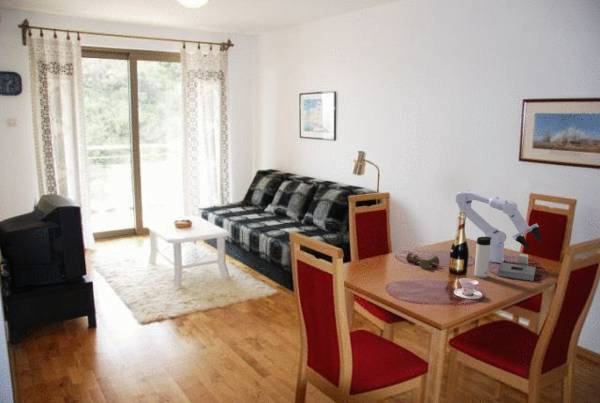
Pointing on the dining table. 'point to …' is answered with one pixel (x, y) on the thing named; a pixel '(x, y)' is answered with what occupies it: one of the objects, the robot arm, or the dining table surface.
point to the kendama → (423, 260)
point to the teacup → (468, 289)
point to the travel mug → (482, 257)
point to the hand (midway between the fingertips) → (534, 245)
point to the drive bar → (523, 259)
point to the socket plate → (516, 271)
